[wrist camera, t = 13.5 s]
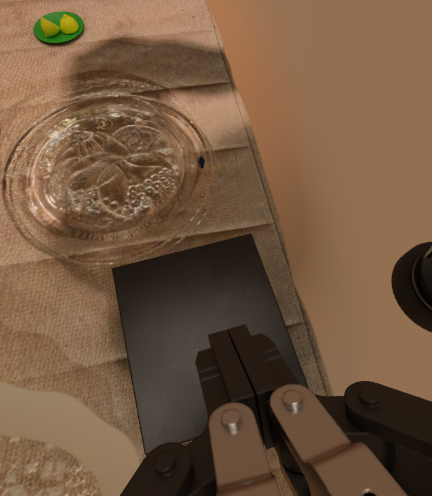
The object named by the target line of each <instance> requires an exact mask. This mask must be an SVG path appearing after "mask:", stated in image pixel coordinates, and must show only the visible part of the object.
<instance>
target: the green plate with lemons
mask: <svg viewBox="0 0 432 496" xmlns="http://www.w3.org/2000/svg"><path fill="white" fill-rule="evenodd" d="M83 27H84V23H83V20H82V19H81V18H80V17H79V16H78V15H76V14H74V13H71V12H62V11H61V12H54V13H50V14H47V15H45V16H43V17H41V18H40V19H39V20H38V21H37V22H36V24H35V26H34V34H35V35H36V37H38V38H39V39H40V40H42V41H45V42H49V43H61V42H66V41H69V40H71V39H73V38H75V37H76V36H78V35H79V34H80V33H81V31H82V30H83Z"/></svg>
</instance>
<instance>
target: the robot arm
mask: <svg viewBox="0 0 432 496" xmlns="http://www.w3.org/2000/svg"><path fill="white" fill-rule="evenodd" d="M410 282H411V286H412V289H413V291H414V293H415V295H416V297H417V298H418V300H419V301H420V302H421V304H422V305H423V306H424V307H425V308H426V309H428V310H429V311H430V312H432V246H431V248H430V249H429V250H427V251H425V252H424V253H422V254H421V255H420V256H418V257H417V258H416V259H415V261H414V262H413V264H412V267H411V270H410ZM208 338H209V343H210V347H211V348H209V349H205V350H202V351H198V354H197V357H196V360H195V364H196V368H197V372H198V376H199V380H200V384H201V388H202V392H203V396H204V400H205V404H206V408H207V412H208V422H207V425H206V427H205V429H204V431H203V432H202V433H201V435H200V436H199V437H198V438H196V439H195V440H194V441H192V442H191V443H189V444H188V445H186V446H183V445H182V444H180V443H176V442H168V443H164V444H161V445H159V446H157V447H155V448H154V449H153V450H151V451H150V452H149V453H148V455H147V456H146V457H145V459H144V460H143V462H142V463H141V465H140V466H139V468H138V469H137V471H136V472H135V474H134V475H133V477H132V478H131V480H130V481H129V483H128V484H127V486H126V487H125V489H124V490H123V492H122V493H121V495H120V496H281V495H280V491H279V488H278V485H277V482H276V479H275V477H274V475H272V472H271V469H270V466H269V463H268V459H267V456H266V453H265V449H264V444H265V447H266V449H269V448H272V447H275V450H276V452H277V454H278V457H279V463H280V468H281V471H282V473H283V475H284V477H285V479H286V481H287V483H288V485H289V487H290V489H291V491H292V493H293V495H294V496H432V402H431V401H428V400H425V399H422V398H419V397H416V396H413V395H410V394H408V393H404V392H402V391H399V390H396V389H393V388H390V387H387V386H384V385H381V384H378V383H374V382H370V381H360V382H356V383H354V384H352V385H350V386H349V387H348V388H347V389H346V391H345V394H344V396H330V397H327V396H319V395H315V394H313V393H312V392H311V391H310V390H309V389H308V388H306V387H304V386H301V385H300V383H299V382H298V380H297V379H296V377H295V375H294V374H293V372H292V371H291V369H290V368H289V366H288V364H287V363H286V361H285V360H284V358H283V357H282V355H281V353H280V352H279V350H278V349H277V347H276V345H275V344H274V342H273V341H272V339H271V338H269V337H267V336H266V335H264V334H263V333H260V334H257V335H253V336H252V335H251V334H250V332H249V330H248V328H247V326H246V325H245V324H244V325H240V326H236V327H233V328H229V329H227V331H226V330H223V331H219V332H216V333H212V334H209V335H208ZM263 442H264V444H263ZM401 446H402V447H401ZM408 449H409V450H408ZM415 452H416V453H415ZM422 455H423V456H422ZM429 458H430V459H429Z"/></svg>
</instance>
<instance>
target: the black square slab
mask: <svg viewBox="0 0 432 496" xmlns="http://www.w3.org/2000/svg"><path fill="white" fill-rule="evenodd" d="M112 272H113V278H114V283H115V289H116V294H117V300H118V306H119V311H120V317H121V323H122V328H123V334H124V340H125V345H126V351H127V356H128V362H129V368H130V373H131V379H132V385H133V390H134V396H135V402H136V407H137V413H138V418H139V424H140V430H141V435H142V441H143V447H144V452H145V455H148V453H149V452H150V451H151V450H153V449H154V448H155V447H157V446H159V445H161V444H164V443H168V442H176V443H180V444H181V443H184V442H187V441H190V440H193V439H196V438H198V437H199V436H200V435H201V433H202V432H203V431H204V429H205V427H206V425H207V422H208V412H207V408H206V404H205V400H204V396H203V392H202V388H201V384H200V380H199V376H198V372H197V368H196V364H195V360H196V357H197V354H198V351H202V350H205V349H209V348H211V347H210V343H209V338H208V335H209V334H212V333H216V332H219V331H223V330H226V331H227V329H229V328H233V327H236V326H240V325H244V324H245V325H246V326H247V328H248V330H249V332H250V334H251V335H252V336H253V335H257V334H260V333H263V334H264V335H266V336H267V337H269V338H271V339H272V341H273V342H274V344H275V345H276V347H277V349H278V350H279V352H280V353H281V355H282V357H283V358H284V360H285V361H286V363H287V364H288V366H289V368H290V369H291V371H292V372H293V374H294V375H295V377H296V379H297V380H298V382H299V383H300V385H301V386H304V387H306V388H308V389H309V387H308V385H307V382H306V379H305V377H304V374H303V371H302V368H301V366H300V363H299V360H298V358H297V355H296V352H295V350H294V347H293V344H292V342H291V339H290V336H289V333H288V331H287V328H286V325H285V323H284V320H283V317H282V315H281V312H280V309H279V306H278V304H277V301H276V298H275V296H274V293H273V290H272V288H271V285H270V282H269V279H268V277H267V274H266V271H265V269H264V266H263V263H262V261H261V258H260V255H259V253H258V250H257V247H256V244H255V242H254V239H253V236H252V234H248V235H244V236H240V237H236V238H232V239H228V240H224V241H220V242H216V243H212V244H208V245H204V246H200V247H196V248H192V249H188V250H184V251H180V252H176V253H172V254H168V255H164V256H160V257H156V258H152V259H148V260H144V261H140V262H136V263H132V264H128V265H124V266H120V267H116V268H113V269H112Z"/></svg>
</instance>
